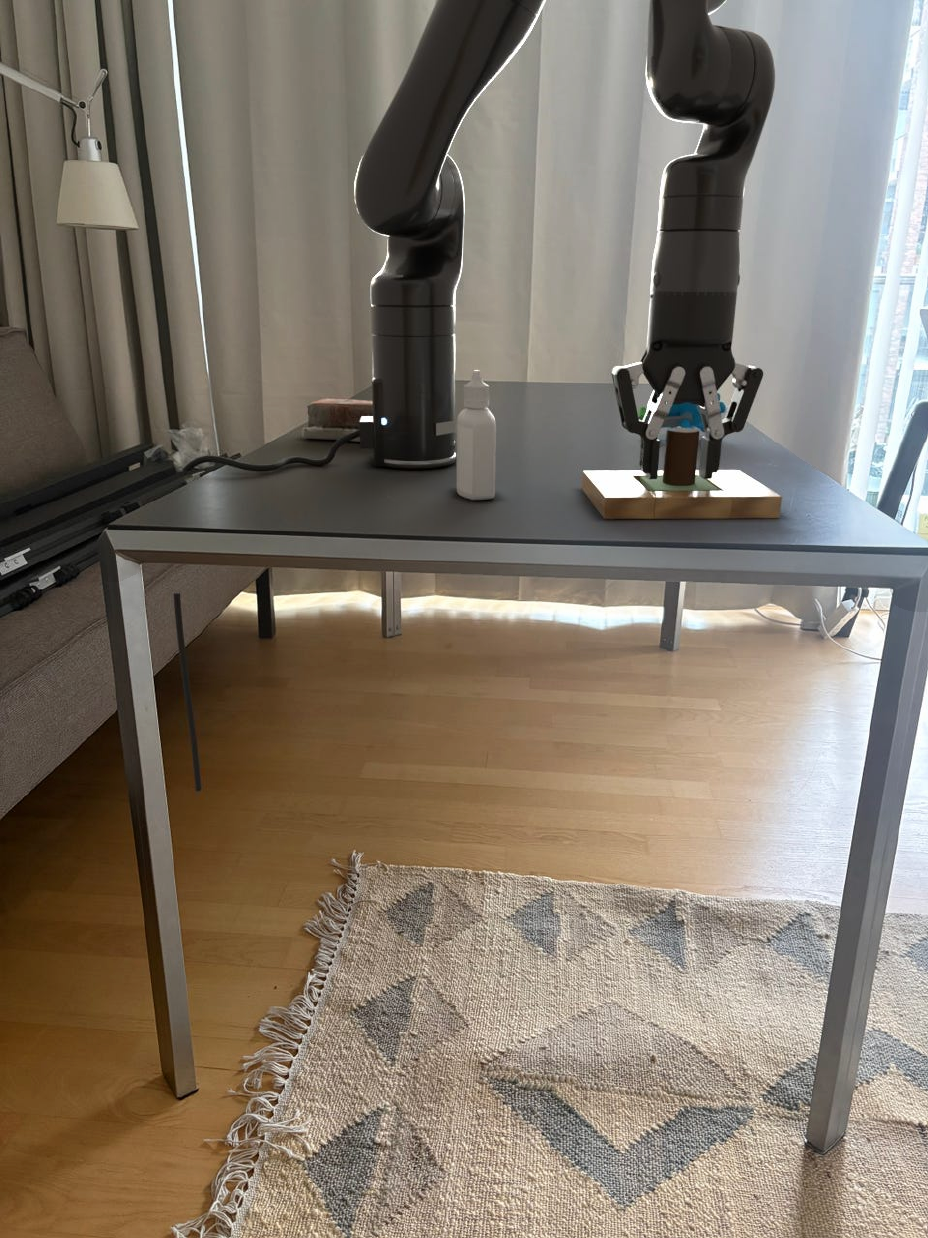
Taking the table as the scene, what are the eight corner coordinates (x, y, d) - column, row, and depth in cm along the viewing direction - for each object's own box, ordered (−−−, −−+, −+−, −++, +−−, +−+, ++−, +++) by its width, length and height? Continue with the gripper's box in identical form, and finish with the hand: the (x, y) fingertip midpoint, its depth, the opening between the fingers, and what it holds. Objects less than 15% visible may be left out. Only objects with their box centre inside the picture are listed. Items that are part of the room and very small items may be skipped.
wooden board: (604, 519, 84) (605, 497, 83) (582, 490, 95) (583, 470, 94) (779, 518, 84) (782, 496, 84) (737, 489, 96) (739, 469, 95)
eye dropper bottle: (447, 500, 90) (447, 372, 86) (459, 487, 95) (460, 367, 91) (491, 502, 89) (494, 373, 85) (502, 490, 95) (504, 368, 90)
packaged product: (298, 402, 120) (326, 393, 129) (300, 440, 122) (328, 428, 131) (432, 407, 116) (452, 397, 125) (432, 446, 118) (452, 434, 127)
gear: (728, 424, 125) (722, 375, 117) (727, 460, 123) (721, 413, 114) (645, 431, 129) (634, 384, 121) (643, 466, 127) (631, 421, 118)
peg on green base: (653, 510, 87) (659, 435, 84) (638, 496, 92) (644, 424, 90) (716, 510, 87) (724, 434, 84) (698, 495, 93) (705, 424, 90)
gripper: (758, 286, 87) (738, 469, 92) (605, 286, 86) (596, 470, 92) (788, 288, 80) (765, 485, 85) (622, 287, 79) (610, 486, 85)
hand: (677, 476), depth 89 cm, fingers open, 4 cm apart
